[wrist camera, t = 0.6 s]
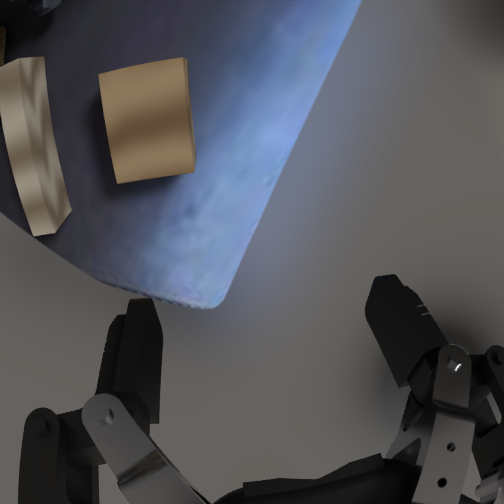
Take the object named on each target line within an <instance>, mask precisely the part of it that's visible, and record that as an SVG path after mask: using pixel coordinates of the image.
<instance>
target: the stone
mask: <svg viewBox="0 0 504 504" xmlns="http://www.w3.org/2000/svg"><path fill="white" fill-rule="evenodd" d="M10 2H21V3H28V6H29V7H30V8H31V9H32V10H33V11H35V12H37V14H38V15H39V16H45V15H46V14H47V13H49V12H50V11H51V10H52V9H54V8H56V7H57V6H59V4H60V3H61V0H10Z"/></svg>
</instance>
